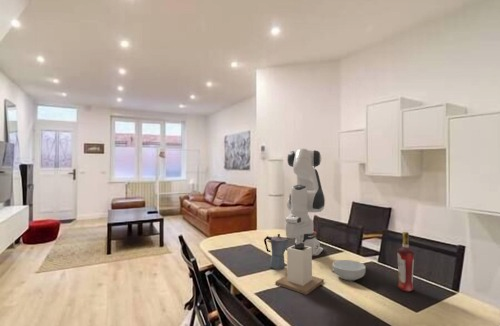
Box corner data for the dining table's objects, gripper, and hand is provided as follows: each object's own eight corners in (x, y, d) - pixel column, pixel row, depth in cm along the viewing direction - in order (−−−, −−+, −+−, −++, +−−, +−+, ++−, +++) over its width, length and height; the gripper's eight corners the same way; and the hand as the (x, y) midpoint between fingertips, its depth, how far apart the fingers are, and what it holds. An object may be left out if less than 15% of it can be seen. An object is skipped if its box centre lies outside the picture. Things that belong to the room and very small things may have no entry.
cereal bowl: (364, 273, 160) (364, 261, 160) (366, 286, 144) (366, 272, 144) (333, 270, 166) (333, 258, 166) (331, 281, 150) (331, 268, 150)
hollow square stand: (293, 273, 161) (293, 240, 161) (323, 282, 149) (323, 246, 149) (275, 284, 147) (275, 248, 147) (306, 294, 136) (306, 255, 135)
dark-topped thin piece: (297, 272, 153) (297, 241, 153) (308, 275, 149) (308, 243, 148) (291, 276, 148) (290, 243, 148) (302, 279, 144) (301, 246, 144)
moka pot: (289, 271, 165) (288, 236, 164) (262, 269, 168) (262, 235, 167) (290, 265, 174) (289, 232, 174) (265, 263, 177) (264, 231, 177)
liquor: (394, 286, 144) (394, 230, 144) (409, 286, 144) (409, 230, 143) (401, 293, 136) (401, 234, 136) (417, 293, 136) (417, 234, 136)
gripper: (303, 213, 158) (304, 238, 158) (283, 219, 142) (283, 246, 142) (314, 214, 154) (314, 240, 154) (294, 220, 138) (294, 249, 138)
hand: (299, 243), depth 148 cm, fingers closed, pressing on dark-topped thin piece
